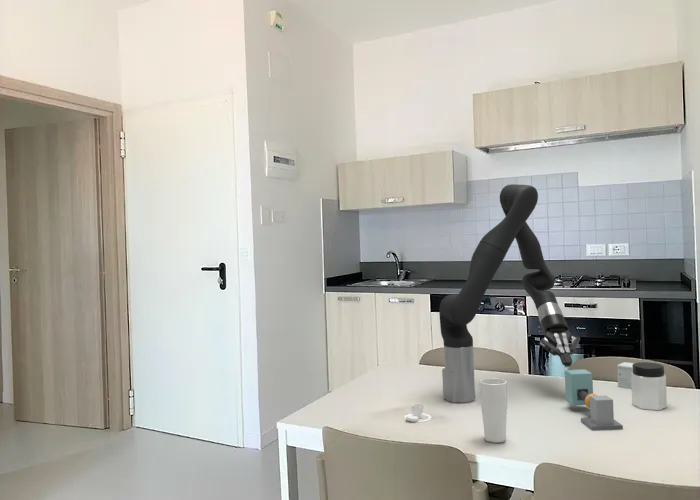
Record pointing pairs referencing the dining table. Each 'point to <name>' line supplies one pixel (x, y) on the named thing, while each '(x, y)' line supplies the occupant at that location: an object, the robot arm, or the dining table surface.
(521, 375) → the dining table surface
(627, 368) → the skincare box
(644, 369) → the jar
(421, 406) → the teacup and saucer
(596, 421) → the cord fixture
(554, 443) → the dining table surface
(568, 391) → the teal block with hole
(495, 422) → the drinking glass
